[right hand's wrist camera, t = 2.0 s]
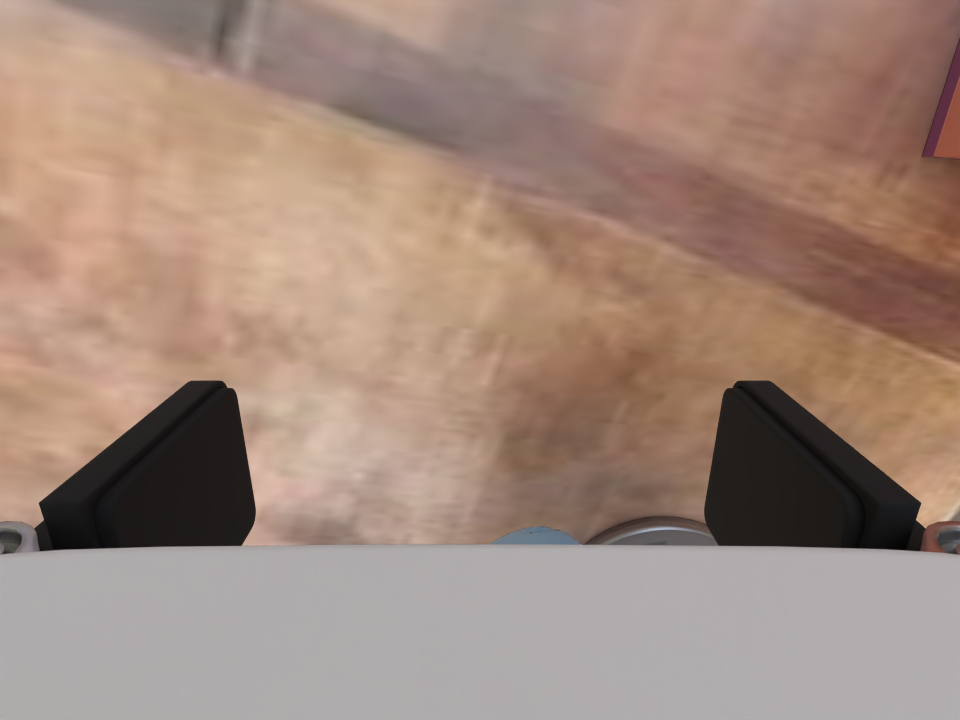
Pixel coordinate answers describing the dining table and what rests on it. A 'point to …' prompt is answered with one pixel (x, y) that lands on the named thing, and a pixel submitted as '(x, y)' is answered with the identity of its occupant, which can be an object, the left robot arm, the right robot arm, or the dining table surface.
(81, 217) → the dining table surface
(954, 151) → the cabinet
